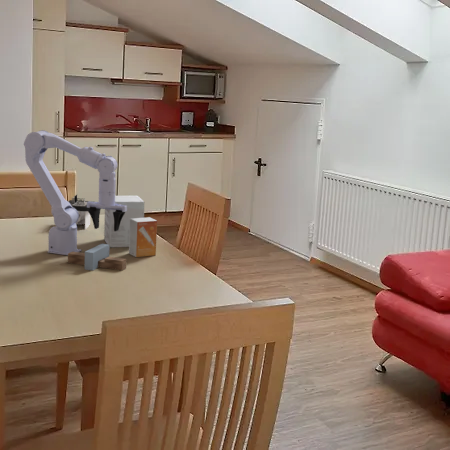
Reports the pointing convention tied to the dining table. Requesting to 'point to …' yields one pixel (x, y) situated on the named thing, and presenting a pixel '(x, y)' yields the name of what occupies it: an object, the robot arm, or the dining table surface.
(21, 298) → the dining table surface
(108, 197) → the robot arm
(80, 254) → the notched rail
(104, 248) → the plain blue-gray board
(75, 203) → the black-topped pedestal
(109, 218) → the supplement box
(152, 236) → the small box
